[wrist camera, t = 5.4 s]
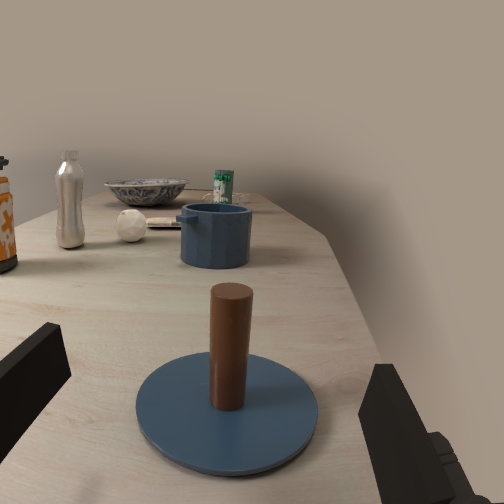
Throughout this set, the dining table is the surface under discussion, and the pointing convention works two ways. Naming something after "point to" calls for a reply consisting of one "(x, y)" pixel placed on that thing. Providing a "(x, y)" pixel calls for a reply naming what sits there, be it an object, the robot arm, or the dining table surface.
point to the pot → (215, 235)
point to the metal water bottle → (69, 201)
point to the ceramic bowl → (147, 190)
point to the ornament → (131, 225)
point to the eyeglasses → (237, 198)
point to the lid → (227, 400)
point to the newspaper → (163, 222)
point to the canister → (6, 224)
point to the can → (223, 186)
